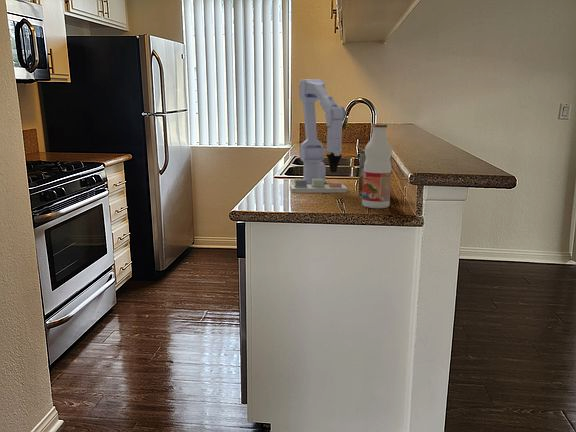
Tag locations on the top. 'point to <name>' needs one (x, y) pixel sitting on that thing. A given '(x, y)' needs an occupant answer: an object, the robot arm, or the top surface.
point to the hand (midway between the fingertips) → (333, 172)
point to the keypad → (317, 189)
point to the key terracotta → (335, 184)
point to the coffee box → (361, 172)
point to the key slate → (300, 182)
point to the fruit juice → (377, 169)
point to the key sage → (318, 182)
